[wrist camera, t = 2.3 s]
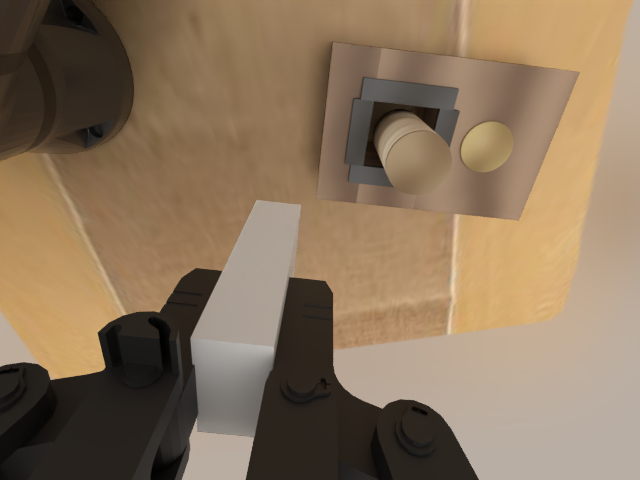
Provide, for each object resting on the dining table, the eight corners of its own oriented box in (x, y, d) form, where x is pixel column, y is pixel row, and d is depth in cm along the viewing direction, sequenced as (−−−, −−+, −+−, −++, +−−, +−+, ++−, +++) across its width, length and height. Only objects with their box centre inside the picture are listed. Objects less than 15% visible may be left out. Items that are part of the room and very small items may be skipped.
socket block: (318, 169, 39) (315, 201, 31) (332, 41, 33) (333, 42, 25) (484, 188, 39) (522, 223, 32) (527, 65, 33) (584, 72, 26)
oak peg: (368, 156, 30) (380, 191, 23) (377, 106, 28) (393, 127, 21) (416, 161, 30) (442, 197, 23) (427, 111, 29) (460, 135, 22)
